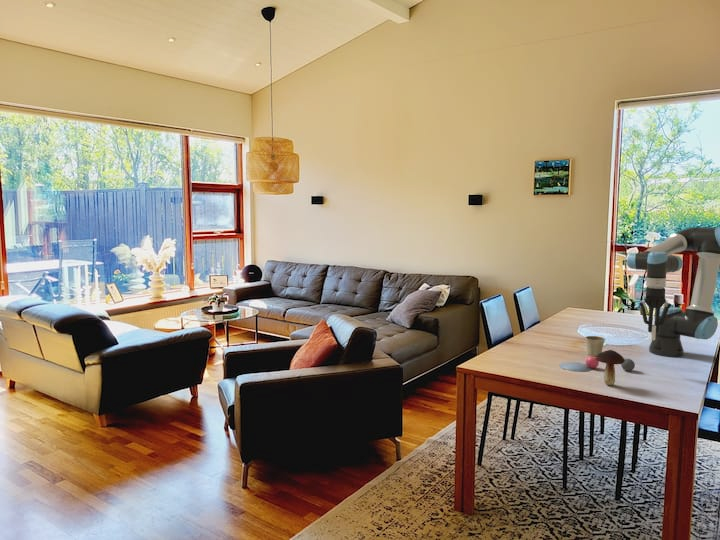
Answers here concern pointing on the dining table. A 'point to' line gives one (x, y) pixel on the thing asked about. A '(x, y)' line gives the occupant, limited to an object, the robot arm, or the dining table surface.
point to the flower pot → (594, 345)
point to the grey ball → (628, 365)
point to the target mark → (575, 366)
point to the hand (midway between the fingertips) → (652, 339)
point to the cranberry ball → (592, 362)
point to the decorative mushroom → (610, 364)
